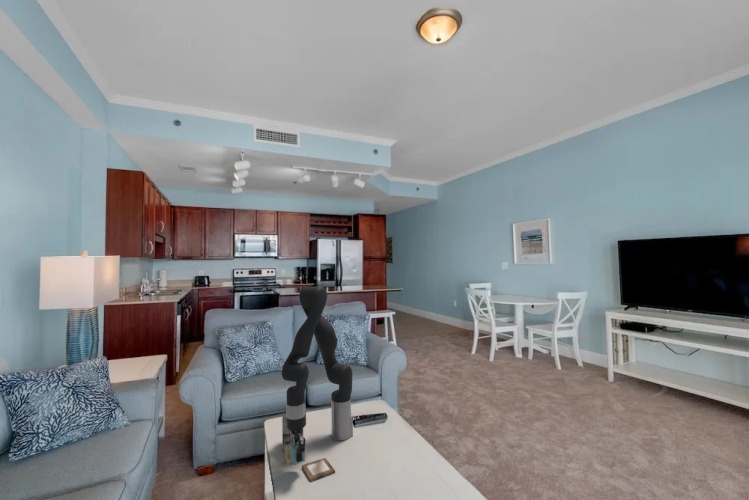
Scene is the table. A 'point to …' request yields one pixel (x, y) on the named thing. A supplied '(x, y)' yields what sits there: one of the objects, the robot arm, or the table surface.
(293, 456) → the teal block
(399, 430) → the table surface
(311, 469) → the brown framed white board
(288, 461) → the ochre block
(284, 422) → the coffee box
